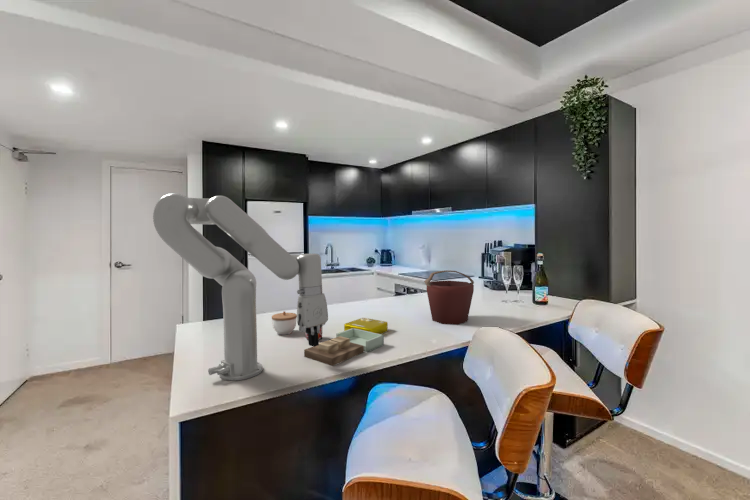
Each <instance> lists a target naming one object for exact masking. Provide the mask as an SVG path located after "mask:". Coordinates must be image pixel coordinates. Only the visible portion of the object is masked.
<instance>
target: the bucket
mask: <svg viewBox="0 0 750 500" xmlns="http://www.w3.org/2000/svg"><path fill="white" fill-rule="evenodd" d="M448 272H449V273H456V274H458V275H459V274H460V275H461V276H463V277H466V278H467V279H468V280H469V281H470V282H469V281H462V280H461V281H459V280H433V277H434V276H435V275H438V274H440V273H441V274H443V273H448ZM423 282H424V284H425V285H426V294H427V299H428V303H429V310H430V316H431V321H433V322H435V323H438V324H441V325H457V326H458V325H461V324H464V323H467V322H468V320H469V315H470V309H471V306H472V299H473V295H474V289H475V288H474V287H475V285H474V284H475V281H474V280H473V279H472V278H471V277H470V276H469V275H467V274H465V273H463V272H459V271H457V270H449V269H448V270H438V271H433V272H431V273H430V274H429V276H428V277H427V278H426V279H425V280H424V281H423Z"/></svg>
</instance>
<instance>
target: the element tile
mask: <svg viewBox="0 0 750 500" xmlns="http://www.w3.org/2000/svg"><path fill="white" fill-rule="evenodd" d="M388 325H389V324H388V321H385V320H381V319H380V320H379V319H373V318H368V317H361V318H357V319H354V320H352V321H348V322H346V323H344V325H343V328H344V329H343V331H346V330H349V329H352V328H355V329H359V330H364V331H368V332H373V333H377V334H382V335H383V334H385V333H386V332H388V331H389V329H388Z"/></svg>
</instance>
